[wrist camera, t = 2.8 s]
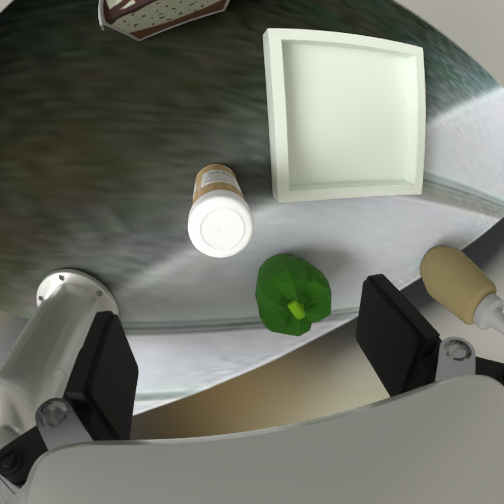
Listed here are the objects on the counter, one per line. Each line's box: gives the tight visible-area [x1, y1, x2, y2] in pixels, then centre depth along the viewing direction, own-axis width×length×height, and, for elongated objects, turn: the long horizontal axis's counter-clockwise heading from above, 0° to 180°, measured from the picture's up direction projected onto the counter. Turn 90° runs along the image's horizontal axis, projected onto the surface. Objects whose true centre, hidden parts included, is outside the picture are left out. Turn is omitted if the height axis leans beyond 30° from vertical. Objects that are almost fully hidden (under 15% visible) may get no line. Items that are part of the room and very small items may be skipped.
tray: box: [263, 28, 426, 204], centre depth 30 cm, size 18×18×3 cm
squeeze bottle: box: [420, 246, 504, 335], centre depth 34 cm, size 8×8×18 cm
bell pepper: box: [255, 254, 331, 336], centre depth 34 cm, size 8×8×10 cm
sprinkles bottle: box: [188, 164, 254, 258], centre depth 27 cm, size 5×5×13 cm
